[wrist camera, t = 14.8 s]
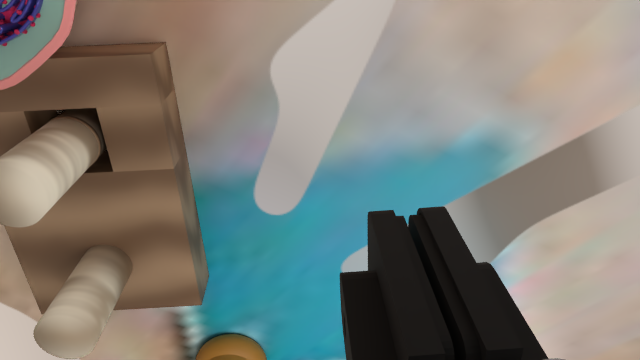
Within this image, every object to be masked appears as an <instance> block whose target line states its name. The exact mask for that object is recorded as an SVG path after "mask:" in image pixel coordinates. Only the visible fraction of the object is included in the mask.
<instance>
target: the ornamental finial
mask: <svg viewBox="0 0 640 360" xmlns="http://www.w3.org/2000/svg"><path fill="white" fill-rule="evenodd" d="M196 360H267V359H266V355H265V353H264V351H263V349H262V348H261V346H260V345H259V344H258V343H257V342H255V341H254V340H252V339H251V338H248V337H246V336H243V335H238V334H225V335H220V336H217V337H215V338H212V339H211V340H209V341H208V342H206V343H205V344H204V345H203V346H202V347H201V349H200V350H199V352H198V354H197V357H196Z"/></svg>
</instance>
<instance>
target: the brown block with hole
mask: <svg viewBox="0 0 640 360" xmlns="http://www.w3.org/2000/svg"><path fill="white" fill-rule="evenodd" d="M82 108H96V110H97V113H98V117H99V121H100V124H101V128H102V132H103V135H104V139H105V143H106V146H107V150H108V151H104V152H103V153H102V154H101V155H100V156H99V158H98V159H97V161H96V162H95V163H94V164H93V165H91V166H90V167H89V168H88V169H87V170H86V171H85V172H84V173H83V174H82V176H81V177H80V178H79V179H78V180H77V181H76V182H75V183H74V184H73V185H72V186H71V187H70V188H69V189H68V191H67V192H66V193H65V194H64V195H63V196H62V197H61V198H60V199H59V200H58V201H57V202H56V203H55V204H54V206H53V207H52V208H51V209H50V210H49V211H48V212H47V213H46V214H45V215H44V216H43V217H42V218H41V219H40V220H39V221H38V222H37V223H35V224H33V225H31V226H27V227H10V226H5V225H4V226H5V228H6V231H7V233H8V235H9V238H10V240H11V242H12V245H13V247H14V250H15V252H16V254H17V257H18V259H19V261H20V264H21V266H22V269H23V271H24V273H25V276H26V278H27V280H28V283H29V285H30V288H31V290H32V292H33V295H34V297H35V299H36V302H37V304H38V307H39V309H40V311H41V314H44V315H43V316H42V318H41V319H40V320H39V322H38V323H37V325H36V327H35V329H34V338H35V341H36V342H37V344H38V345H39V346H40V347H41V348H42V349H43V350H44V351H46V352H47V353H49V354H51V355H53V356H56V357H59V358H65V359H77V358H81V357H84V356H86V355H88V354H90V353H91V352H92V351H93V349H94V347H95V345H96V343H97V341H98V339H99V337H100V335H101V333H102V331H103V329H104V327H105V325H106V323H107V321H108V319H109V317H110V315H111V313H112V311H113V310H124V309H141V308H159V307H176V306H193V305H202V301H203V297H204V294H205V290H206V286H207V282H208V278H209V273H208V267H207V262H206V256H205V251H204V246H203V240H202V235H201V229H200V224H199V219H198V213H197V208H196V202H195V197H194V192H193V186H192V181H191V176H190V170H189V165H188V159H187V154H186V149H185V143H184V138H183V132H182V127H181V122H180V116H179V111H178V105H177V100H176V95H175V89H174V84H173V79H172V73H171V68H170V62H169V57H168V52H167V46H166V42H164V43H141V44H118V45H95V46H72V47H60V48H59V49H58V50H57V51H56V52H55V53H53V54H52V55H51V56H50V57H49V58H48V59H47V60H46V61H45V62H44V63H43V64H42V65H41V66H40V67H39V68H38V69H36V70H35V71H34V72H33V73H32V74H30V75H29V76H28V77H27V78H26V79H24V80H23V81H21V82H19V83H18V84H16V85H14V86H12V87H9V88H6V89H3V90H0V157H1V156H2V155H3V154H5V153H6V152H8V151H9V150H10V149H12V148H13V147H15V146H16V145H17V144H19V143H20V142H22V141H23V140H24V139H26V138H27V137H29V136H30V135H31V134H33V133H34V132H36V131H37V130H38V129H40V128H41V127H42V126H44V125H45V124H46V123H47V122H48V121H50V120H51V119H53V118H55V117H56V116H57V113H56V110H61V109H82Z"/></svg>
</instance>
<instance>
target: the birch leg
mask: <svg viewBox="0 0 640 360" xmlns="http://www.w3.org/2000/svg"><path fill="white" fill-rule="evenodd" d="M106 149H107V146H106V143H105V139H104V135H103V132H102V128H101V124H100V121H99V117H98V113H97V110H96V108H82V109H66V110H65V111H63V112H62V113H61V114H59V115H58V116H56V117H55V118H53V119H51V120H50V121H48V122H47V123H46V124H45V125H44V126H42V127H41V128H40V129H38V130H37V131H36V132H34V133H33V134H31V135H30V136H29V137H27V138H26V139H24V140H23V141H22V142H20V143H19V144H17V145H16V146H15V147H13V148H12V149H10V150H9V151H8V152H6V153H5V154H3V155H2V156H1V157H0V224H2V225H5V226H10V227H27V226H31V225H33V224H35V223H37V222H38V221H39V220H40V219H41V218H42V217H43V216H44V215H45V214H46V213H47V212H48V211H49V210H50V209H51V208H52V207H53V206H54V204H55V203H56V202H57V201H58V200H59V199H60V198H61V197H62V196H63V195H64V194H65V193H66V192H67V191H68V189H69V188H70V187H71V186H72V185H73V184H74V183H75V182H76V181H77V180H78V179H79V178H80V177H81V176H82V174H83V173H84V172H85V171H86V170H87V169H88V168H89V167H90V166H91V165H93V164H94V163H95V162H96V161H97V159H98V158H99V156H100V155H101V154H102V153H103V152H104V151H105V150H106Z"/></svg>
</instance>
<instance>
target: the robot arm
mask: <svg viewBox="0 0 640 360" xmlns="http://www.w3.org/2000/svg"><path fill="white" fill-rule="evenodd" d="M340 294H341V312H342V324H343V335H344V343H345V352H346V360H564V359H558V358H555V359H548V357H547V356H546V354H545V352H544V351H543V349H542V347H541V346H540V344H539V342H538V341H537V339H536V337H535V336H534V334H533V332H532V331H531V329H530V327H529V326H528V324H527V322H526V321H525V319H524V317H523V316H522V314H521V312H520V311H519V309H518V307H517V306H516V304H515V303H514V301H513V299H512V298H511V296H510V294H509V293H508V291H507V289H506V288H505V286H504V284H503V283H502V281H501V279H500V278H499V276H498V274H497V273H496V271H495V269H494V268H493V267H492V265H491V264H489V263H487V262H483V263H476V261H475V260H474V258H473V256H472V254H471V253H470V251H469V249H468V247H467V245H466V244H465V242H464V240H463V239H462V236H461V235H460V233H459V231H458V229H457V228H456V226H455V224H454V222H453V220H452V219H451V217H450V215H449V213H448V212H447V210H446V208H445V207H429V208H419V209H418V211H417V215H410V216H409V225H408V226H407V223H406V221H405V218H404V216H396V215H395V213H394V211H393V210H387V211H373V212H368V271H359V272H345V273H340Z"/></svg>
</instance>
